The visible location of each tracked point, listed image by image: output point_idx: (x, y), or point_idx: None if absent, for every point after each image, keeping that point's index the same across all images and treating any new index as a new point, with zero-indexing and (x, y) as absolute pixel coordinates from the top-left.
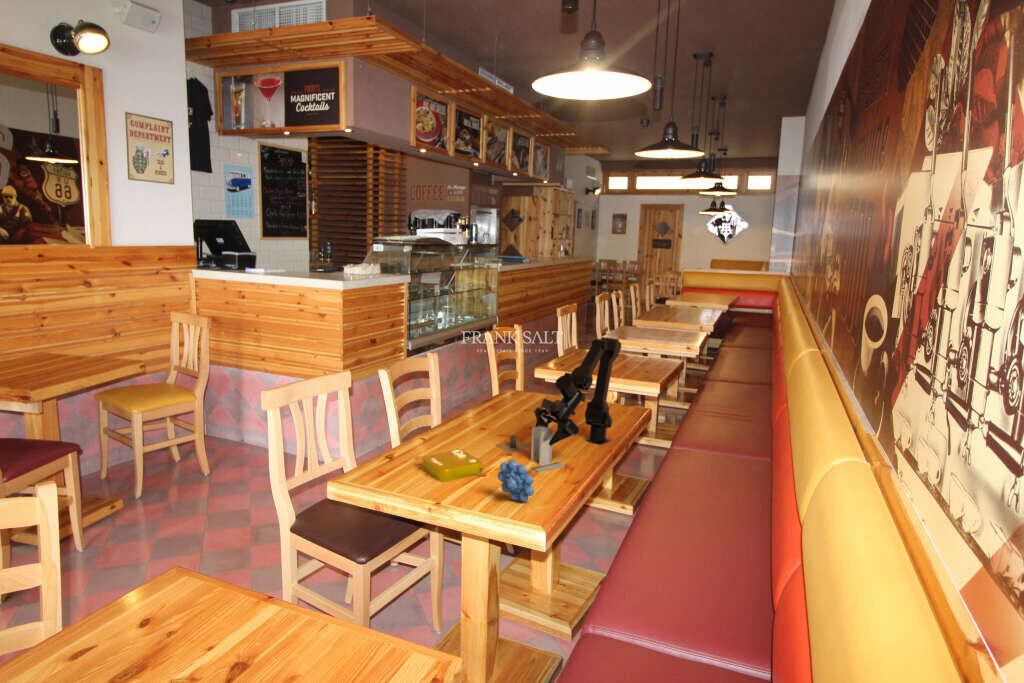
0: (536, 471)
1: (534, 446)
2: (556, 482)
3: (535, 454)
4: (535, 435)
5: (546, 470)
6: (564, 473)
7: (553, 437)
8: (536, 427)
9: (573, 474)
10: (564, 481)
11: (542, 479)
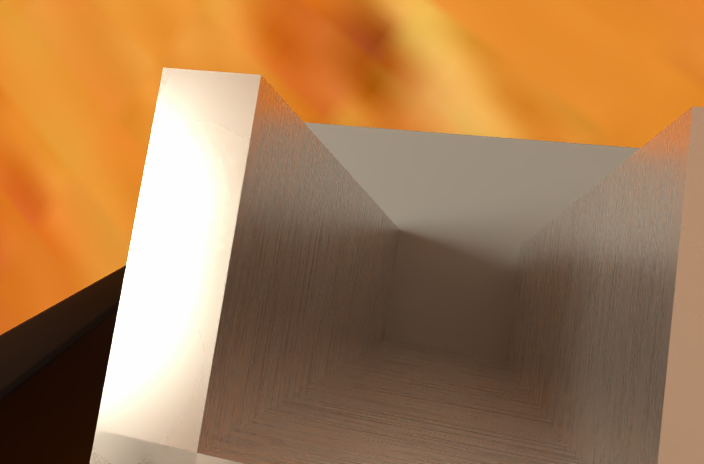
0: (325, 127)
1: (549, 243)
2: (58, 112)
3: (526, 274)
4: (594, 235)
5: None
6: None
7: (29, 328)
8: (685, 244)
9: None
10: (30, 180)
11: (169, 57)
